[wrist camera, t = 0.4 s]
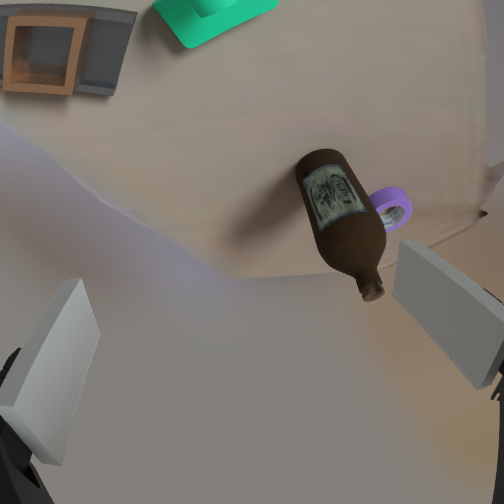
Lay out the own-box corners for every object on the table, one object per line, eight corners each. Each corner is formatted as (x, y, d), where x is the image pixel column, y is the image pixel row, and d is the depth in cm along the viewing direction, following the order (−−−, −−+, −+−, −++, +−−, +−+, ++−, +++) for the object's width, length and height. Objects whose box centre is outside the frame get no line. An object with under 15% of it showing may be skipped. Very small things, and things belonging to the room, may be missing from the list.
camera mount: (188, 45, 32) (189, 75, 27) (154, 0, 26) (143, 18, 21) (275, 1, 29) (302, 20, 23) (247, -48, 23) (267, -46, 17)
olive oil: (354, 174, 57) (411, 292, 43) (305, 197, 60) (347, 320, 46) (338, 135, 48) (407, 265, 35) (281, 163, 52) (327, 300, 38)
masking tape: (373, 227, 73) (379, 240, 71) (349, 209, 66) (355, 223, 64) (412, 200, 67) (419, 213, 65) (392, 178, 59) (400, 191, 57)
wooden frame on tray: (-13, 78, 26) (-28, 94, 24) (-7, 5, 18) (-25, 15, 16) (116, 88, 35) (109, 104, 32) (137, 12, 27) (132, 20, 25)
